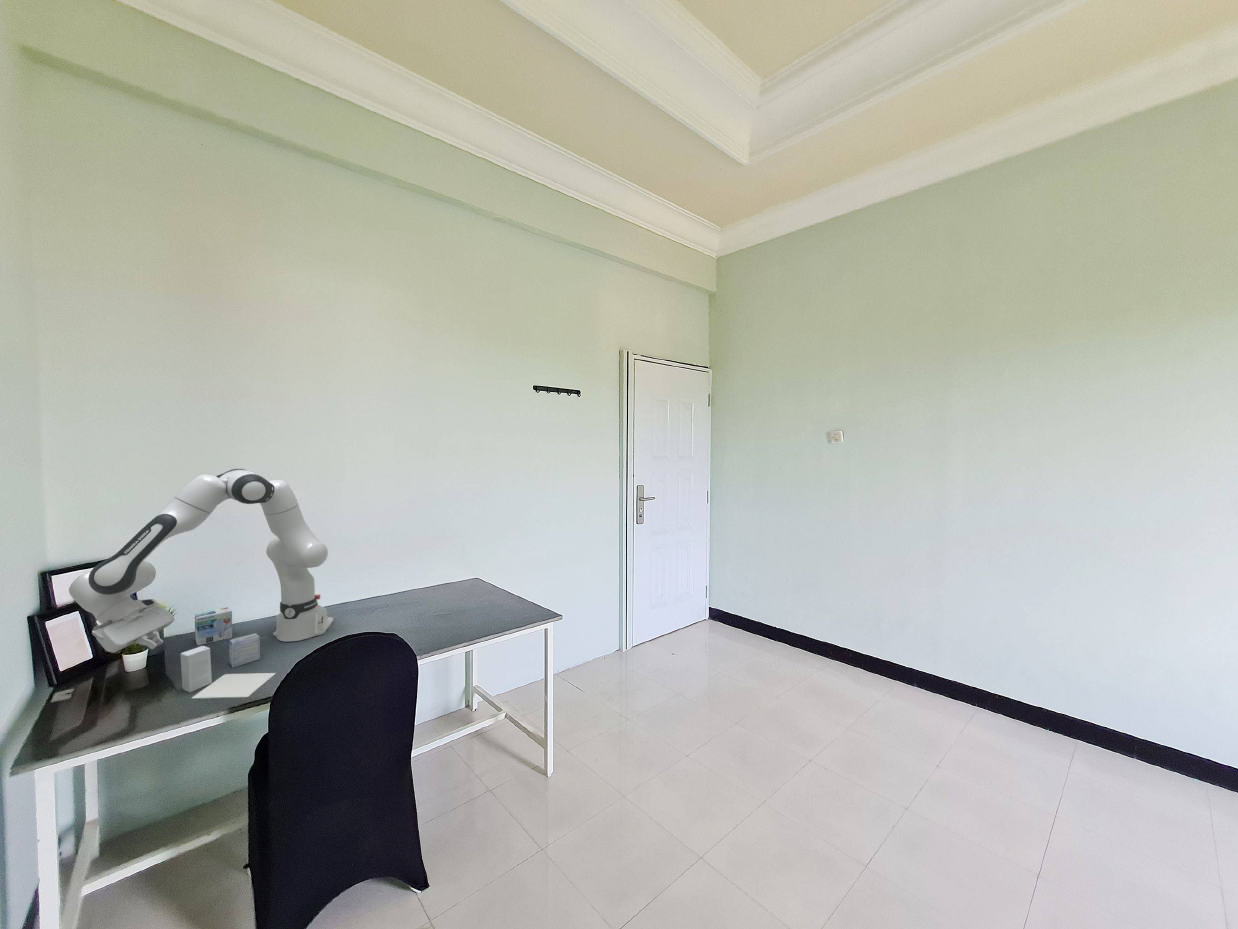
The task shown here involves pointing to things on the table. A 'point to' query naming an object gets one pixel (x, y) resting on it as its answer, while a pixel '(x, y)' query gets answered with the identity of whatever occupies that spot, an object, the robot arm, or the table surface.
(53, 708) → the table surface
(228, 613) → the light bulb box
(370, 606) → the table surface
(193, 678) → the skincare box
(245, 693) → the off-white mat
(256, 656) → the medicine box
